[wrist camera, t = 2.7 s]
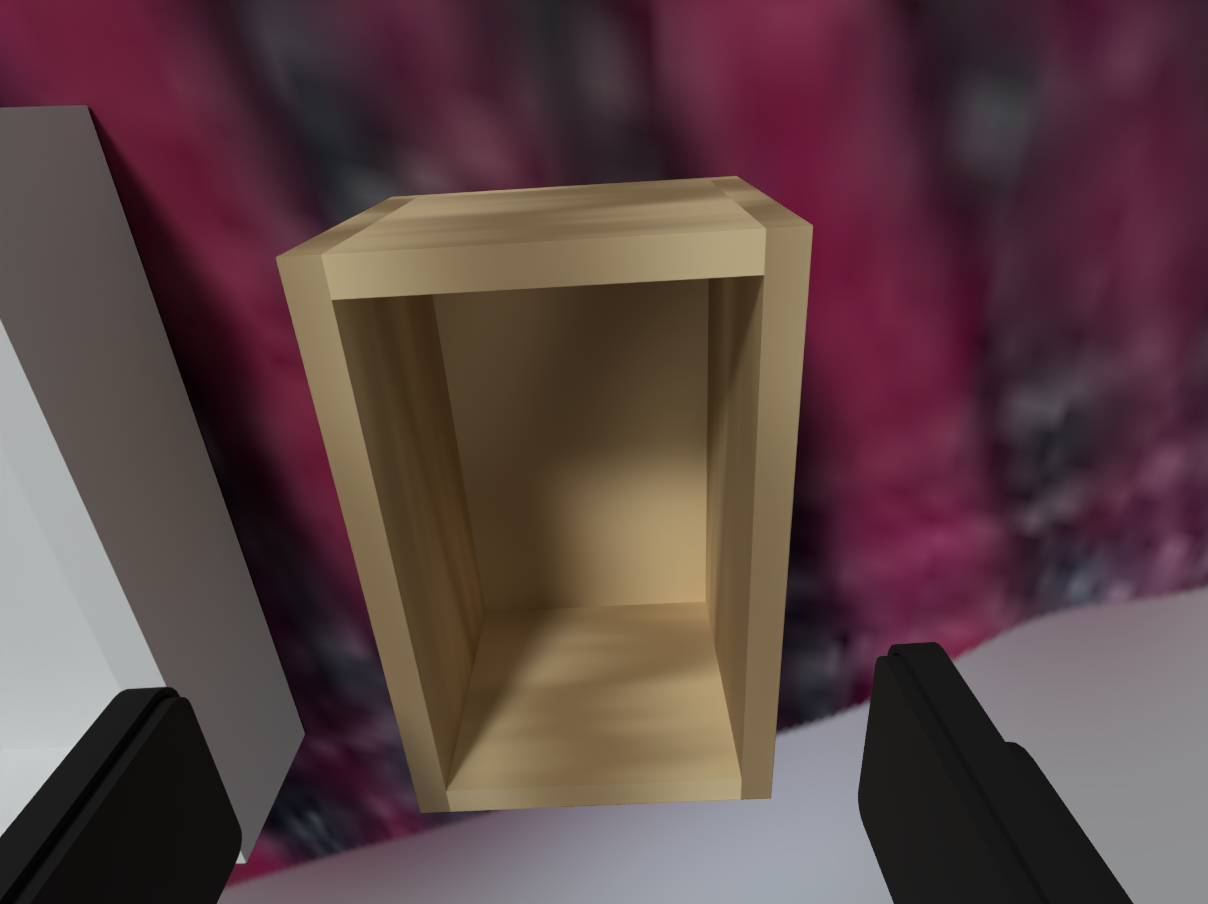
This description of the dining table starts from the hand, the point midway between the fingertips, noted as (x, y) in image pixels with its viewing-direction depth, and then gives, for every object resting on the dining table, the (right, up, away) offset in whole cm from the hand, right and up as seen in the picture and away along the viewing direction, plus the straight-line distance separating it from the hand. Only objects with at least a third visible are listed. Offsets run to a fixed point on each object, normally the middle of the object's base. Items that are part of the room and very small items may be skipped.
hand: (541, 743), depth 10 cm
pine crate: (0, +5, +7) cm, 9 cm away
